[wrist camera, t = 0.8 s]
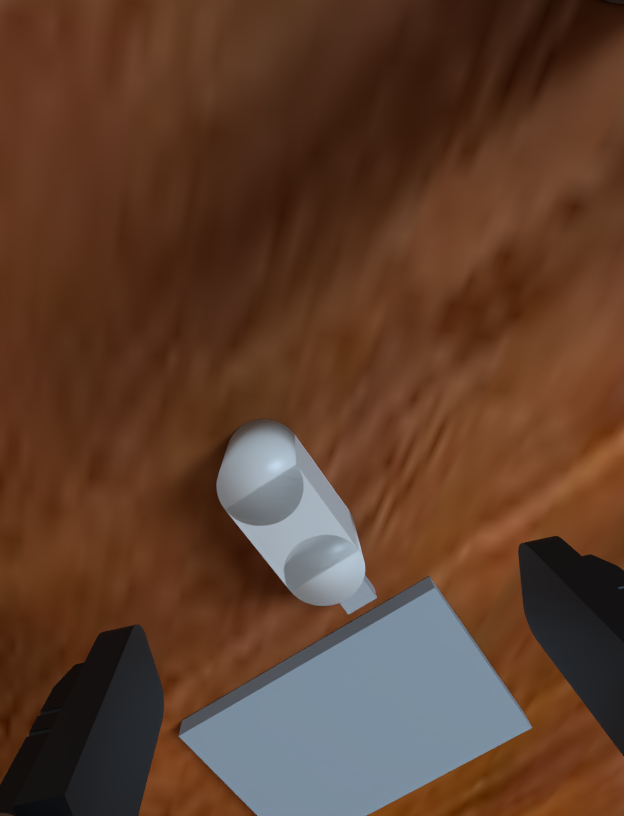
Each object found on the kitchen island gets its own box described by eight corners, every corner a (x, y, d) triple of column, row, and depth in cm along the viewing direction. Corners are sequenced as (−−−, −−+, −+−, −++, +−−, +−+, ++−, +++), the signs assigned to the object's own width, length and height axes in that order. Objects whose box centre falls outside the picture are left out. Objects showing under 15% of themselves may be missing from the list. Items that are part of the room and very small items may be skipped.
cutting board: (429, 576, 33) (434, 587, 31) (524, 713, 36) (532, 727, 35) (182, 720, 35) (178, 736, 34) (294, 835, 38) (294, 853, 37)
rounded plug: (273, 405, 29) (271, 430, 25) (385, 561, 32) (400, 607, 28) (211, 445, 29) (198, 476, 25) (327, 595, 33) (334, 645, 28)
